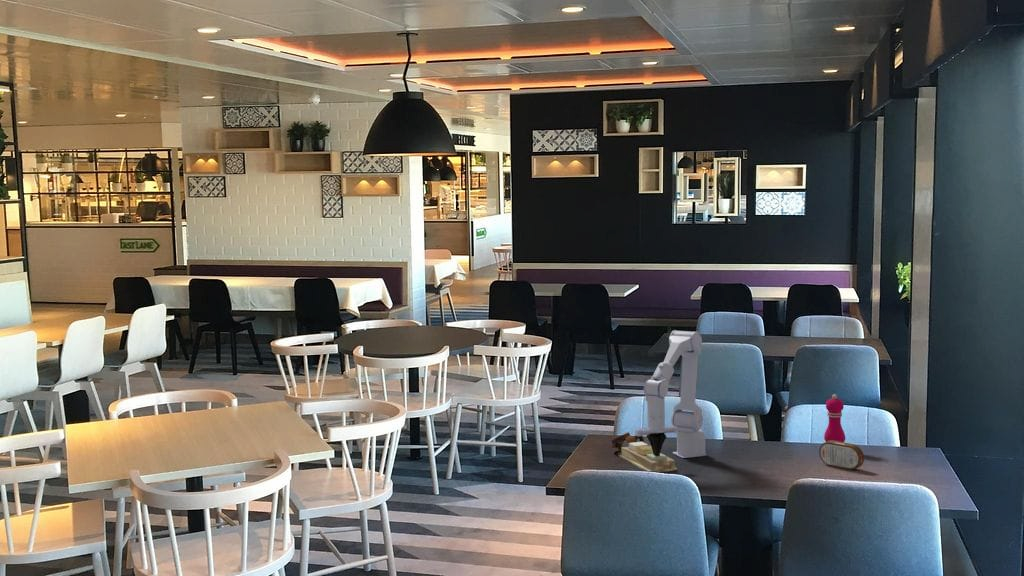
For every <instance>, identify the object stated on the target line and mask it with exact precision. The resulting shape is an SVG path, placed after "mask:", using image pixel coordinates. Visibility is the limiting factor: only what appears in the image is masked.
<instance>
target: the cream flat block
mask: <svg viewBox="0 0 1024 576" xmlns="http://www.w3.org/2000/svg"><path fill="white" fill-rule="evenodd" d="M637 449H638V454H640V455H642V456H647V454H653V450H652V447H651V444H649V445H648V446H641V447H637Z"/></svg>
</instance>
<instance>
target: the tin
mask: <svg viewBox="0 0 1024 576" xmlns="http://www.w3.org/2000/svg"><path fill="white" fill-rule="evenodd" d="M818 451H819V457H820V460H821V461H822V462H823V463H824V464H825V465H827V466H829V467H834V468H838V469H839V468H840V469H845V470H848V471H849V470H850V471H852V470H855V469H859V468H861V467H862V466H863V464H864V461H865V455H864V452H863V450H862V449H861V448H860V447H859V446H858V445H856V444H855V443H851V442H849V443H848V442H845V441H844V442H839V441H833V440H829V441H827V442H826V441H825V442H823V443H822V444H821V445H820V446H819V449H818Z"/></svg>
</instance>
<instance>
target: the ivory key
mask: <svg viewBox="0 0 1024 576" xmlns="http://www.w3.org/2000/svg"><path fill="white" fill-rule="evenodd" d="M641 446H649V444H648V443H647V442H645V441H644V442H640V441H637V442H634V443H628V447H629V449H630V450H632V451H634V452H638V449H637V447H641Z"/></svg>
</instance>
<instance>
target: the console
mask: <svg viewBox="0 0 1024 576" xmlns="http://www.w3.org/2000/svg"><path fill="white" fill-rule="evenodd" d="M620 451H621V452H620V453H621V455H620V454H619V456H618V457H619V458H620V459H623V460H624V461H625V462H628V463H630V464H632V465H633V466H635V467H637V468H638V469H641V470H643V471H645V470H646V471H645V472H647V471H657V472H656V473H664V472H673V471H678V468H677V467H676V460H675V459H673V458H672V457H669V456H667V459H666V460H657V461H652V460H650V459H648V458H647V456H642V455H640V454H638V452H634V451H632V450H630V449H629V446H628V447H627V446H623V447H621V450H620Z"/></svg>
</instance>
